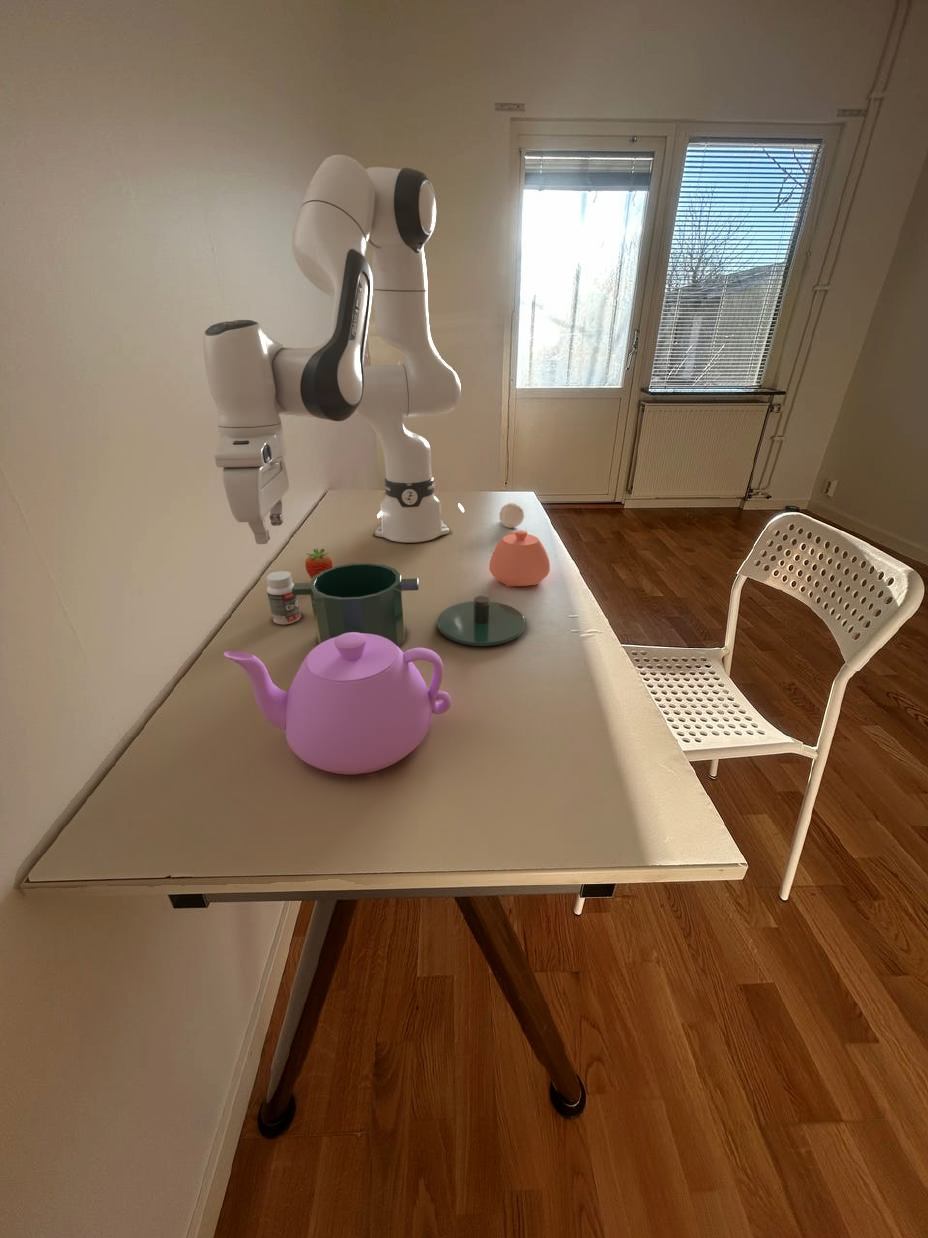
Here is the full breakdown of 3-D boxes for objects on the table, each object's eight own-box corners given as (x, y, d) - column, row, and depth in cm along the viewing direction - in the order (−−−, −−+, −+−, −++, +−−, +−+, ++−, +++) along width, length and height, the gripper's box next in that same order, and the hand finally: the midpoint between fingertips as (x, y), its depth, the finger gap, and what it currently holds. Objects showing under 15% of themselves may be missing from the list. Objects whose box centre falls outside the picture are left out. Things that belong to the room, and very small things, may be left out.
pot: (310, 620, 91) (301, 565, 86) (420, 615, 92) (417, 560, 87) (294, 663, 78) (282, 602, 73) (421, 657, 80) (418, 596, 75)
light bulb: (514, 528, 143) (524, 530, 133) (491, 525, 142) (500, 526, 131) (518, 504, 142) (529, 504, 131) (495, 501, 141) (504, 500, 130)
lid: (436, 608, 95) (435, 582, 92) (516, 604, 96) (517, 579, 93) (439, 651, 81) (438, 622, 79) (532, 646, 82) (534, 618, 80)
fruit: (303, 587, 103) (297, 550, 99) (320, 578, 107) (314, 541, 103) (324, 592, 101) (319, 554, 97) (341, 582, 105) (336, 545, 101)
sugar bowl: (496, 593, 100) (497, 543, 95) (482, 566, 112) (483, 521, 107) (556, 589, 101) (561, 540, 97) (536, 563, 114) (539, 518, 109)
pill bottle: (292, 626, 89) (284, 582, 85) (267, 623, 90) (258, 579, 86) (305, 613, 93) (298, 571, 89) (281, 611, 94) (273, 569, 90)
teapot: (440, 681, 74) (437, 595, 68) (465, 769, 59) (464, 669, 52) (259, 703, 70) (237, 614, 63) (234, 804, 54) (202, 700, 48)
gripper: (251, 434, 86) (267, 515, 93) (208, 457, 68) (231, 555, 74) (290, 434, 87) (302, 514, 93) (257, 456, 69) (276, 553, 75)
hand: (270, 533), depth 84 cm, fingers open, 8 cm apart
